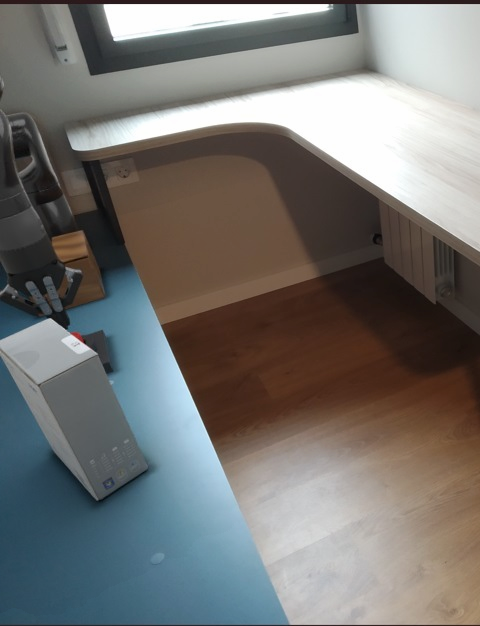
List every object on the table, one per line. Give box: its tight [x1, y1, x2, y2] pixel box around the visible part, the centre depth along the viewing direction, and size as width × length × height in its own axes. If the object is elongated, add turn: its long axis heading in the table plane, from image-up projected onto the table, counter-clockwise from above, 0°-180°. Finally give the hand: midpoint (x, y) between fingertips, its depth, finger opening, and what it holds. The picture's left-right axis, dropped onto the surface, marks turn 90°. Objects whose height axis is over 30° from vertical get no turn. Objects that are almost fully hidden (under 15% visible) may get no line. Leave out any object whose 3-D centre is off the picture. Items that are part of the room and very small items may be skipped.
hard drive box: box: [0, 318, 149, 501], centre depth 83 cm, size 16×8×20 cm, turn 48°
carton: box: [28, 232, 107, 318], centre depth 131 cm, size 15×13×9 cm
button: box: [69, 331, 85, 344], centre depth 107 cm, size 4×4×2 cm
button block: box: [80, 329, 114, 375], centre depth 109 cm, size 12×10×4 cm
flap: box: [52, 230, 88, 262], centre depth 129 cm, size 15×6×1 cm, turn 28°
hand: (63, 328), depth 106 cm, fingers closed
